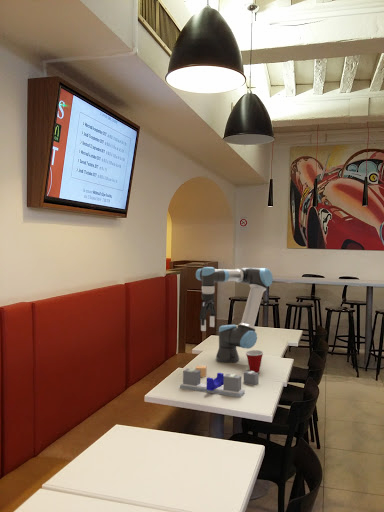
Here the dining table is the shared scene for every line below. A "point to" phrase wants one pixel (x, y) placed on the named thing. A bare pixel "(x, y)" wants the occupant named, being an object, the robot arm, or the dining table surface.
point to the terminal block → (202, 370)
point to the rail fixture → (229, 388)
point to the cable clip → (215, 382)
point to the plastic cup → (254, 360)
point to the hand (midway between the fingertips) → (207, 328)
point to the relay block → (251, 377)
